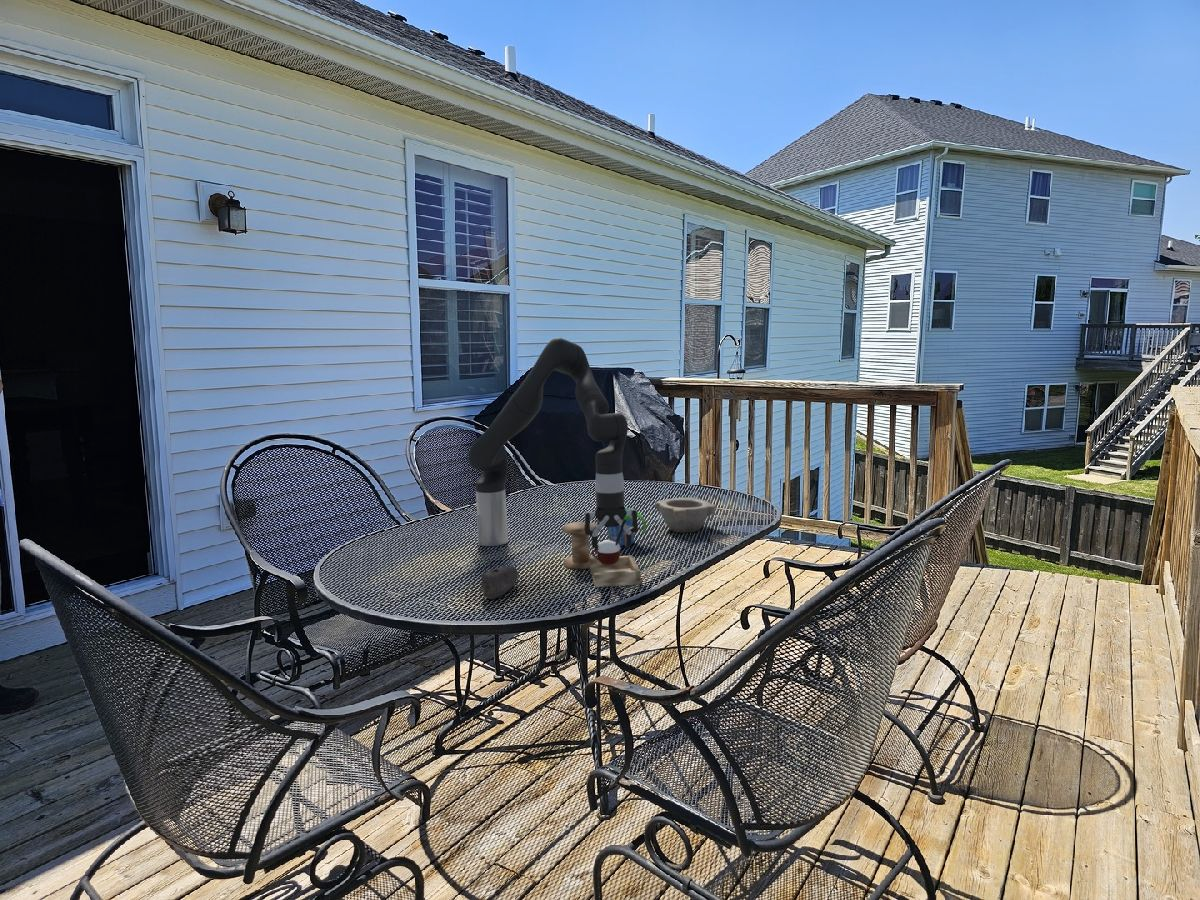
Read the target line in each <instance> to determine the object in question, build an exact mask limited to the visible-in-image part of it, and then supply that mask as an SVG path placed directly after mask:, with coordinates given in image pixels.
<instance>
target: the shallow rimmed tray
mask: <svg viewBox="0 0 1200 900" xmlns="http://www.w3.org/2000/svg"><path fill="white" fill-rule="evenodd" d="M589 570H590V574H591V578H592V582H593V585H594V588H604V587H619V586H621V587H622V586H632V585H635V586H636V585H642V581H641V579H642V578H641V569H640V568H639V566H638V564H637V562H636V559H635V558H634V556H633V555H622V556H621V555H620V557H619V560H618V561H617V562H616V563H615V564H613V565H604V564H602V563H601V562H600V561H599V560H597V559H596V558H590V568H589Z"/></svg>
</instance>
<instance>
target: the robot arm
mask: <svg viewBox="0 0 1200 900" xmlns="http://www.w3.org/2000/svg"><path fill="white" fill-rule="evenodd" d="M587 357H588V356H587V354H586V353H585V351H584V349H583V348H582V346H581V345H579V344H577V343H574V342H573V341H570V340H567V339H565V338H562V337H559V336H557V337H554V338H552V339H551V340H550V341H549V342H547V343H546V346H545V347H544V348H543V350H542V352H541V353H540V354H539V356H538V358H537V360H536V361H535V363H534V365H532V368H531V370H530V371H529V372H528V374H527V376H526V377H525V379H524V380H523V381H522V383H520V385H519V386H518V388H517V389H516V390H515V391H514V393H513V394H512V395H511V397H509V399H508V401H507V402H506V403H505V405H504V406H503V408H502V409H501V410H500V412H499V413H498V414H497V416H496V417H495V418H494V420H493V421H492V423H491V424H490V425H489V426H488V428H487V429H486V430H485V431H484V432H483V433H482V434H481V435H480V436H479V437H478V438H477V439H476V440H475V441H474V442H473V444H472V445H471V446H470V448H469V451H468V453H467V459H468V463H469V465H470V467H471V468H473V469H474V470H476V471H480V472H481V471H482V473H481V475H480V477H479V478H478V479H477V480H476V482H475V499H476V513H477V515H476V523H477V524H476V525H477V542H478V546H479V547H480V546H481V547H482V546H483V547H497V546H502V545H505V544H508V542H509V534H508V533H509V532H508V516H507V514H508V513H507V500H506V483H507V479H508V455H507V454H508V453H507V449H506V446H505V445H506V444H507V442H509V441H510V440H512V438H514V437H515V436H516V435H518V434H519V433H521V432H522V431H523V430H524V429H525V428H526V427H528V425H529V424H530V423H531V422H532V421H533V420H534V419H535V417H536V416H537V415H538V414H539V412H540V411H541V409H542V406H543V401H544V385H545V383H546V381H547V380H548V378H549V376H550V375H551V373H553V372H554V371H556V372H558V373H561V374H565V375H568V376H570V378H571V379H572V380H573V381H574V382H575V385H576V386H575V391H574V394H575V399H576V402H577V403H578V405H579V408H580V409H581V411H582V412H583V415H584V417H585V422H586V429H587V434H588V436H589V438H590V439H592V441H595V442H598V443H599V442H608V441H610V442H609V443H608V446H607V447H605V448H602V449H600V450H598V451H597V452H596V453H595V480H594V481H595V483H594V488H595V504H596V505H595V506H596V507H595V508H596V509H595V511H588V510H585V511H584V522H585V534H586V535H589V537H591V546H592V549H594V550H598V544H599V542H598V534H599V533H600V532H601V531H602V529H603V528H604V527H605V528H607V527H611V526H613V527H617V526H619V525H620V526H622V524H623V519H624V518H625V516H626V514H628V515H629V517H630V518H632V527H630V528H629V527H628V526H627V525H626V524H625V525H624V527H623V529H624V530H625V532H626V533H625V545H626V546H625V549H630V547H631V546H632V544H631V534H632V533H634V532H635V533H637V532H638V531H639V523H638V517H637V512H638V511H636V509H635V508H630V509H631V510H625V507H626V506H625V483H624V482H625V480H624V474H623V453H624V450H625V449H624V448H625V444H626V439H627V437H628V432H629V424H628V421H627V418H626V416H625V415H624V414H623V413H619V412H615V413H613V412H612V413H609V410H610V404H609V402H608V400H607V399H606V397H605V395H604V393H603V392H602V391H601V388H600V387H599V386H598V384H597V382H596V380H595V377H594V375H593V371H592V369H591V366H590V363H589V359H588V358H587ZM594 517H595V518H596V520H597V519H598V522H597V521H596V523H595V524H596V525H595V527H594V528H593V530H590V523H591V521H592V520H593V519H594ZM600 530H601V531H600ZM599 531H600V532H599Z"/></svg>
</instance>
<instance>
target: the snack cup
mask: <svg viewBox="0 0 1200 900" xmlns="http://www.w3.org/2000/svg"><path fill="white" fill-rule="evenodd" d="M631 509H632V508H628V507H626V508H625V510H631ZM635 510H636V509H635ZM636 511H637V510H636ZM637 518H638V519H640V520H641V522H642V525H643V526H642V534H643V535H645V534H646V531H647V522H646V520H645V518H644V516H643V515H642V514H640V513H639V512H638V511H637ZM625 519H626V523H625V524H626V525H627V526H628V527H629V528H630V527H632V518H630V517H629V515H628V514H626V516H625V518H624V519H623V521H624V520H625ZM597 522H598V519H597V518H596V523H597ZM620 529H621V526H620V525H619V526H617V527H613V526H611V527H606V530H607V536H608V540H611V541H613V542H616V541H617V538H618V535H619V532H620ZM601 531H602V529H601V530H600V531H599V533H600V532H601ZM625 533H626V532H625V530H624V529H623V532H622V534H621V537H620V540H619V543H618V544H619V545H620V547H622V546H623V547H626V545H625ZM635 534H636V532H634V533H632V534H631V545H632V544H634V542H635V536H636V535H635Z"/></svg>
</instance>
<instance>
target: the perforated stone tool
mask: <svg viewBox="0 0 1200 900" xmlns="http://www.w3.org/2000/svg"><path fill="white" fill-rule="evenodd" d="M480 577H481V584H480V589H481V590H482V592H483V597H484V598H486V599H489V600H495V599H498V598H500V597H502V596H503V595H505V594H507V593H508V592H509V591H510V590H511V589H512V588H513V587H514V586H515V585H516V583H517V580H518V578H519V572H518V569H517V567H515V566H513V565H504V566H501V567H500V566H499V567H496V568H494V569H491V570H488V571H486V572H484V573H483V574H481V576H480Z"/></svg>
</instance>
